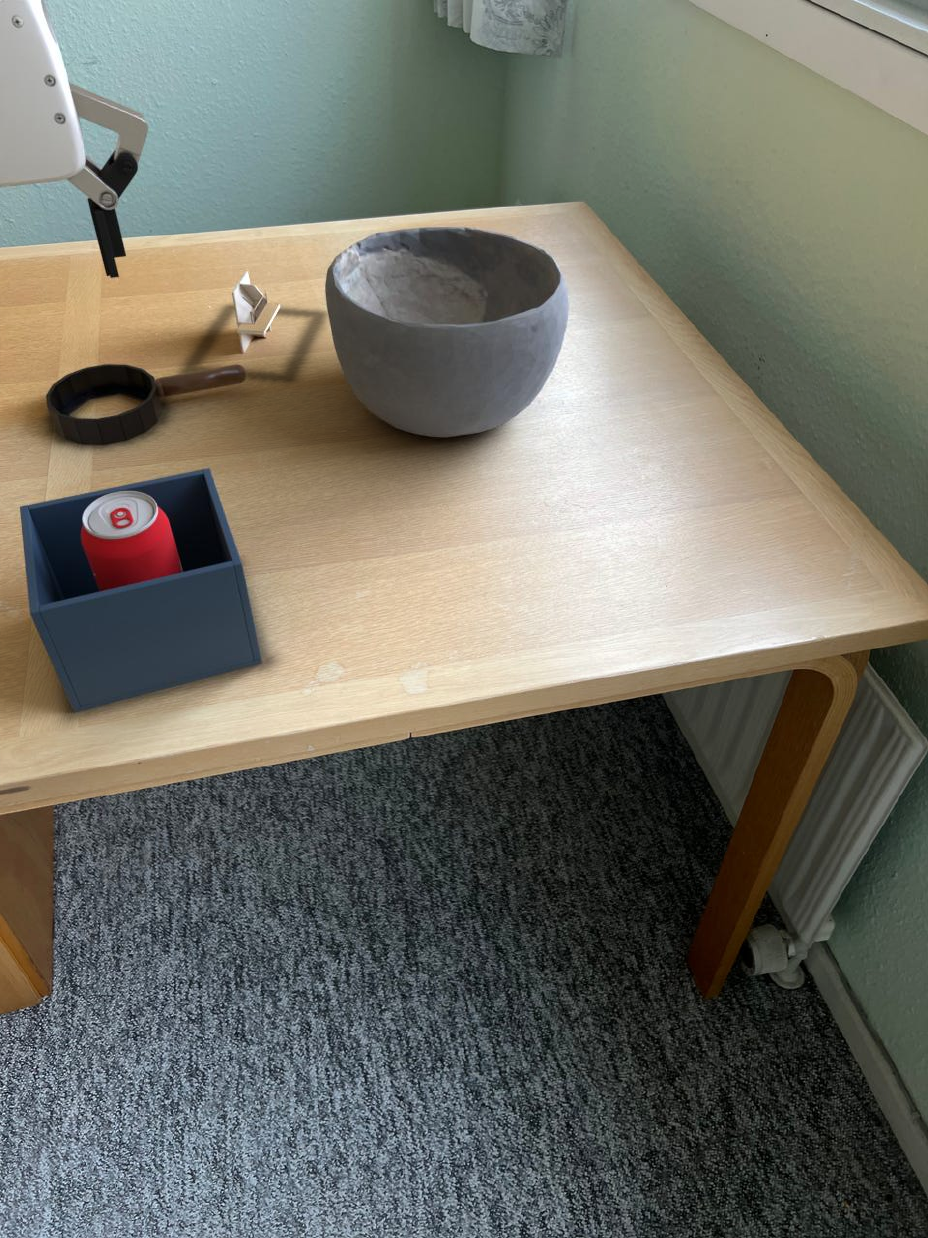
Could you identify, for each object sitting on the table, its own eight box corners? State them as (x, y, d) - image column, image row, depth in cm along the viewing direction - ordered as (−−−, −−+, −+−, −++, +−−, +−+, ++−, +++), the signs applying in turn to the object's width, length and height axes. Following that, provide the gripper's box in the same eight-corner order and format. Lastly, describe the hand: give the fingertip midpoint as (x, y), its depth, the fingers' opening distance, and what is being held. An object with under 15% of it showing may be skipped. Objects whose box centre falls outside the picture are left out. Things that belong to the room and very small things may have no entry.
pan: (59, 454, 92) (49, 427, 89) (51, 399, 99) (42, 372, 96) (261, 415, 97) (256, 389, 95) (239, 366, 104) (235, 340, 102)
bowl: (385, 332, 110) (380, 203, 100) (583, 370, 105) (599, 239, 94) (291, 441, 94) (272, 302, 83) (519, 494, 89) (530, 352, 78)
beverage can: (185, 594, 77) (154, 477, 69) (205, 643, 73) (174, 525, 65) (109, 616, 75) (67, 499, 67) (125, 668, 71) (83, 550, 63)
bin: (74, 714, 69) (29, 613, 61) (60, 606, 77) (19, 506, 69) (262, 664, 73) (242, 563, 65) (231, 566, 80) (209, 467, 73)
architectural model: (284, 332, 110) (276, 271, 105) (268, 361, 105) (259, 299, 100) (256, 330, 110) (246, 269, 105) (238, 359, 105) (228, 297, 100)
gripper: (100, -87, 49) (166, 237, 61) (-276, -77, 44) (-124, 272, 56) (114, -61, 44) (183, 286, 56) (-308, -47, 39) (-133, 328, 51)
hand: (29, 278), depth 56 cm, fingers open, 9 cm apart
